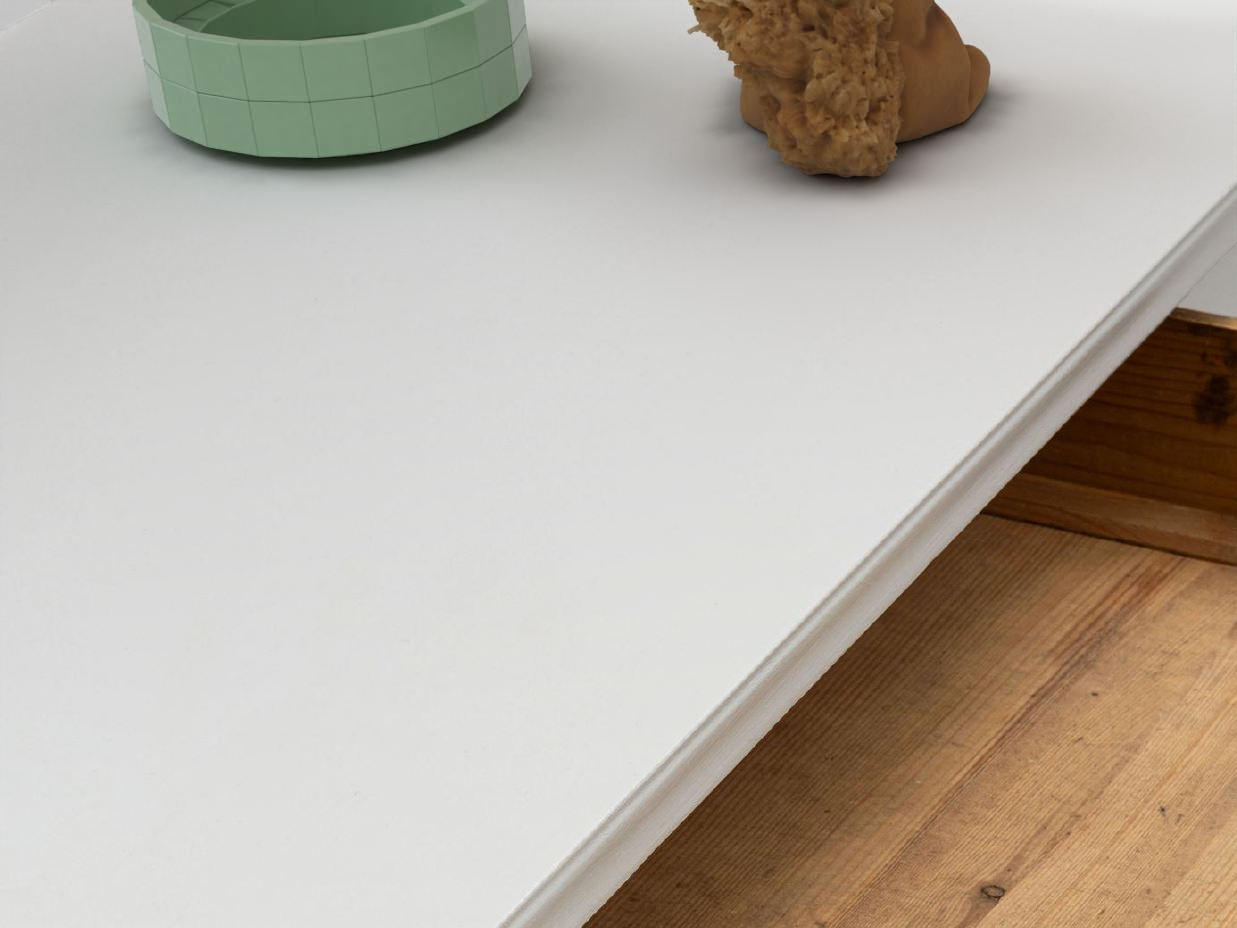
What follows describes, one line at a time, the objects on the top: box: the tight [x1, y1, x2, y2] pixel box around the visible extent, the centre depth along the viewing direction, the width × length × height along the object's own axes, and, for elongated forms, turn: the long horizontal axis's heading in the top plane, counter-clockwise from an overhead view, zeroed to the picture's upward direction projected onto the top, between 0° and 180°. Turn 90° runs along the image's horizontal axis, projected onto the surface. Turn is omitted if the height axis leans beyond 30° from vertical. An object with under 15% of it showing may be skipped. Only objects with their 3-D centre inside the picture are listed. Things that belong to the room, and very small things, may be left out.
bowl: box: [131, 0, 533, 159], centre depth 104 cm, size 15×15×5 cm
